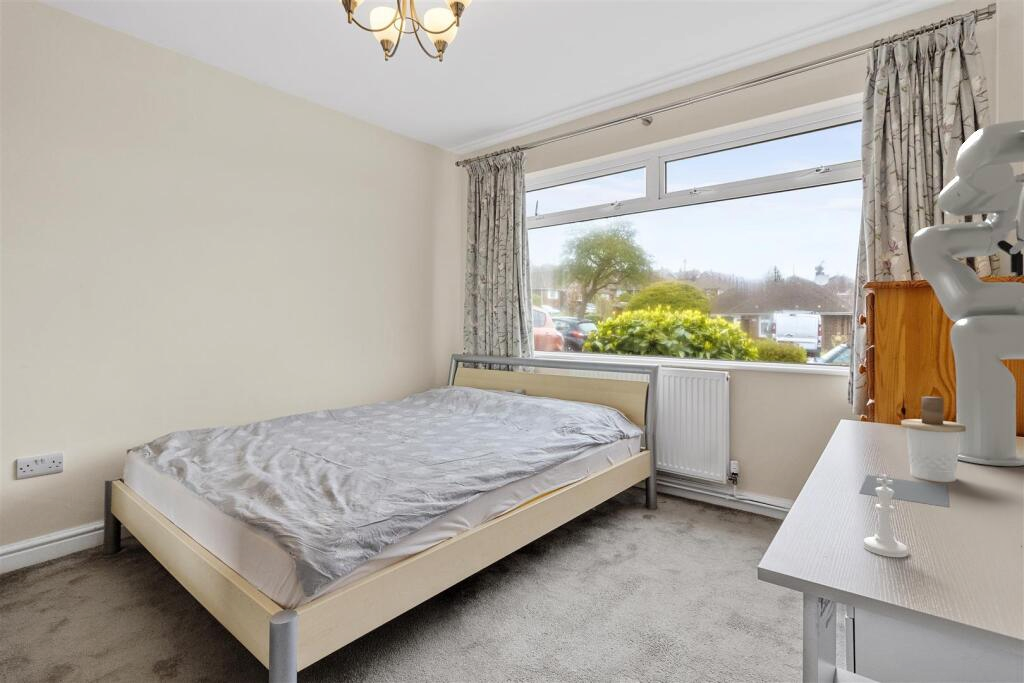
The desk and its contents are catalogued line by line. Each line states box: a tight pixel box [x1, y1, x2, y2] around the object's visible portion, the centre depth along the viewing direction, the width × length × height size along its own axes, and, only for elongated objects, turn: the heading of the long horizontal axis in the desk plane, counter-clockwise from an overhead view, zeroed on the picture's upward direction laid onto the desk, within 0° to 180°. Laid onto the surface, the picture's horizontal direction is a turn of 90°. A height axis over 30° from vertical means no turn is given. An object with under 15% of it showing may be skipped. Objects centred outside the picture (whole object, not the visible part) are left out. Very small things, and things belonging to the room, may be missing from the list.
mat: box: [858, 474, 950, 508], centre depth 91 cm, size 14×12×1 cm
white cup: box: [906, 428, 959, 483], centre depth 98 cm, size 8×8×10 cm
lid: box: [900, 396, 966, 432], centre depth 98 cm, size 10×10×6 cm
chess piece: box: [862, 474, 909, 558], centre depth 67 cm, size 5×5×10 cm
